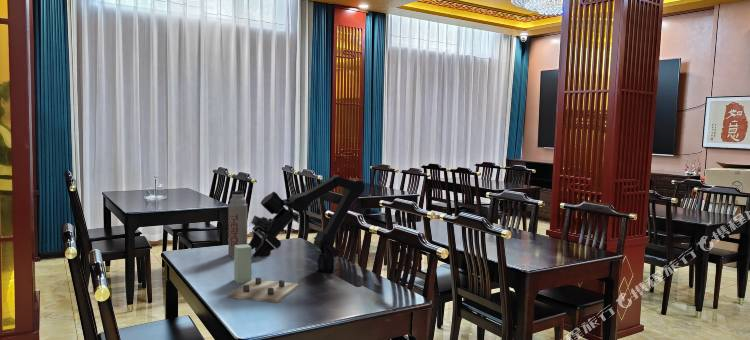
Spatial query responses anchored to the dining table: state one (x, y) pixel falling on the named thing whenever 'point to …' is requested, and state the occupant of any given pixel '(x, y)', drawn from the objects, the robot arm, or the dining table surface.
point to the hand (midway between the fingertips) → (250, 253)
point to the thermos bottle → (237, 221)
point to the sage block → (242, 263)
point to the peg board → (263, 290)
